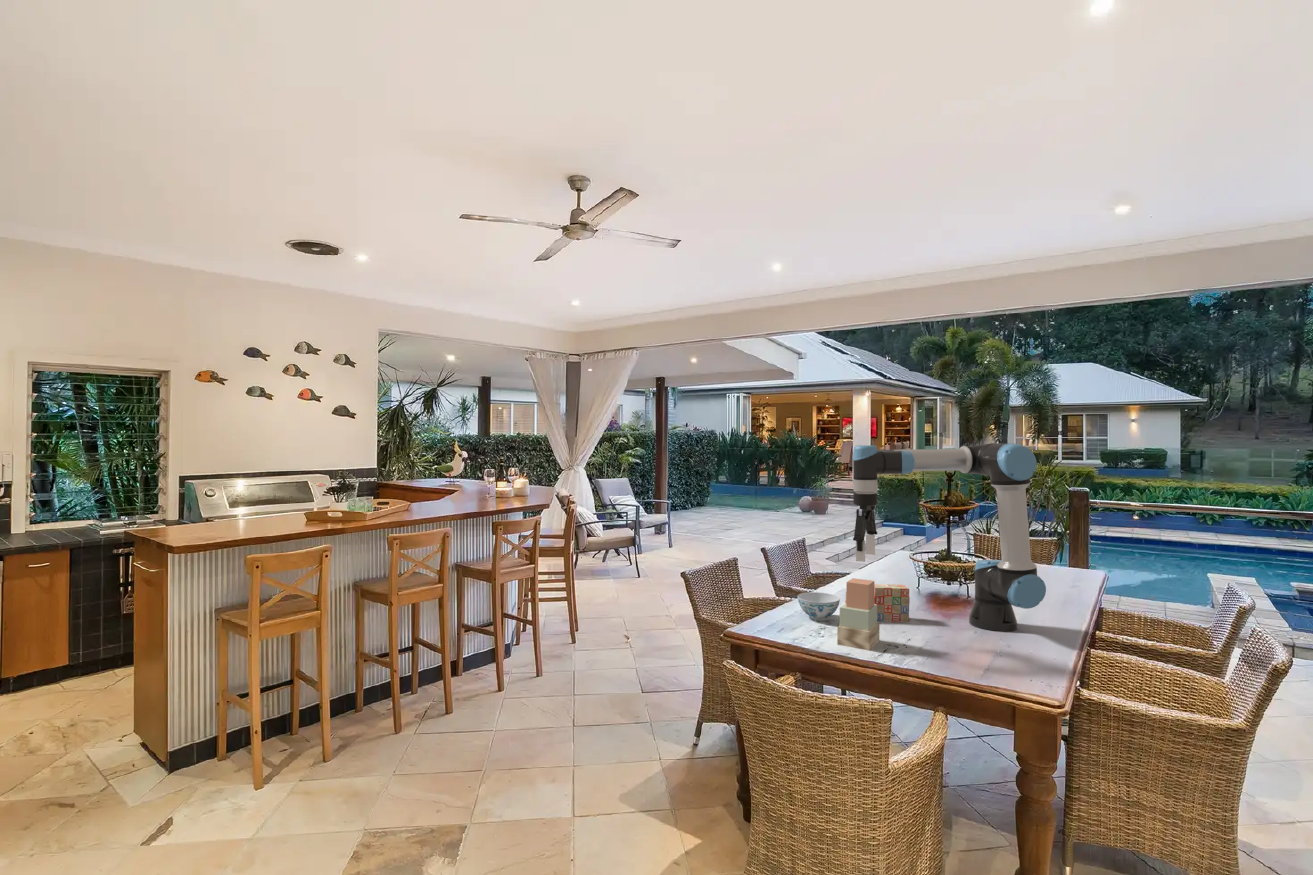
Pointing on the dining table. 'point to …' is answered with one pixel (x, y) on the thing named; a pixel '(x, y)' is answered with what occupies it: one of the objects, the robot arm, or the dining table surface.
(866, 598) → the terracotta block
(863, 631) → the tower base block
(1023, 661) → the dining table surface
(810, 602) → the chinaware
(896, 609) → the stack of blocks
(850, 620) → the tower top block
